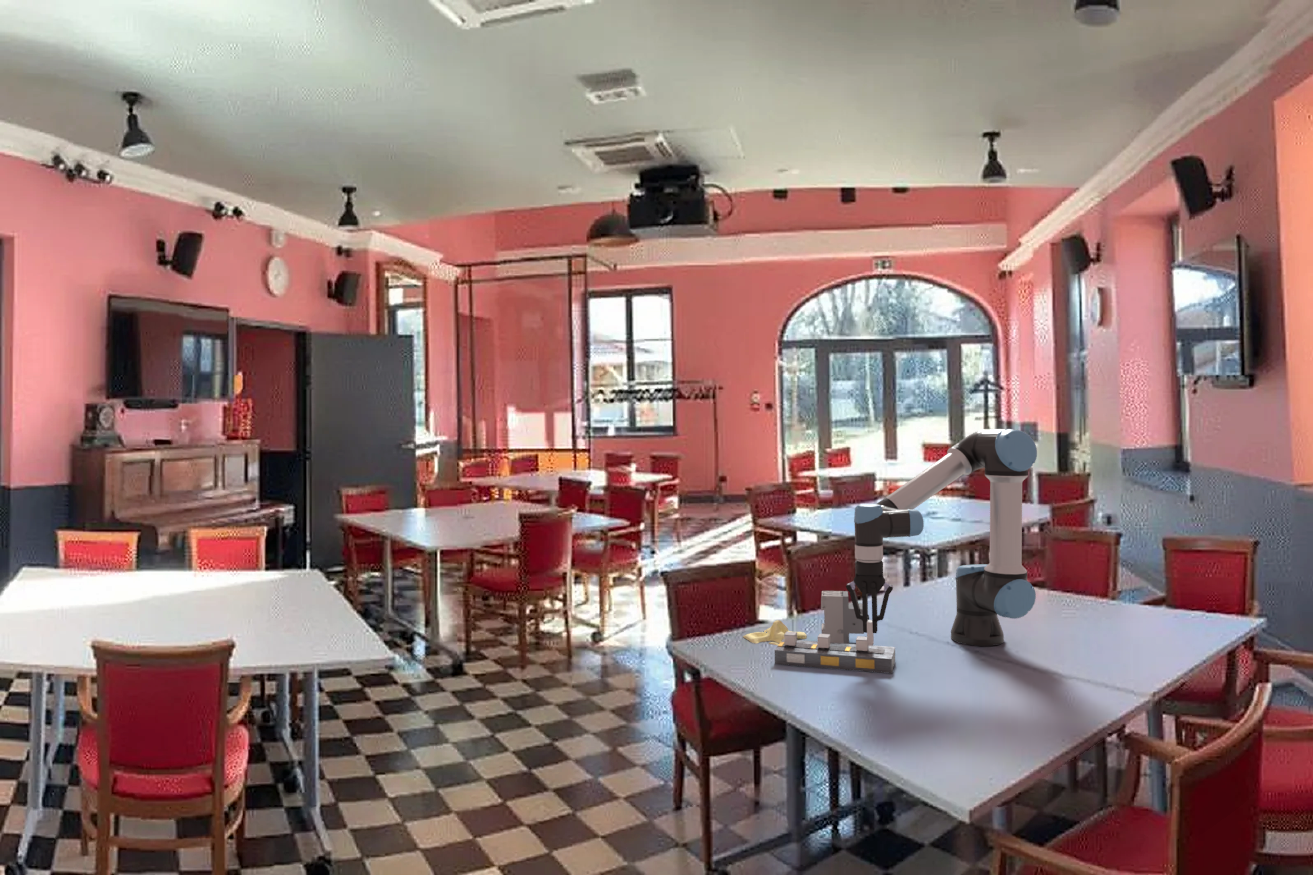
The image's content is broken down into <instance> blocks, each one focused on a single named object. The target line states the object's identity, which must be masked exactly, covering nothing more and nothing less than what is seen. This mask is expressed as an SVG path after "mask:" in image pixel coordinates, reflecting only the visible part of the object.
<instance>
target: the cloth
mask: <svg viewBox="0 0 1313 875" xmlns="http://www.w3.org/2000/svg"><path fill="white" fill-rule="evenodd" d="M763 631H764V632H763ZM763 631H755V632H751V633H746V634H745V635H743V636H742V638H744V639H746V640H748V641H749V642H750V643H752V644H759V643H763V642H768V645H774V646H778V645H779V643H780V642H781V641H782V640H783V639H784V634H785V633H786V632H787V631H788V632H793V631H792V630H789V629H788V626H787V625H786V624H785V623H783V622H782V621H781V620H780V619H779V620H777V619H776V620H775V621H773V622H772V625H771V626H770V627H768V628H766V629H765V630H763ZM766 632H767V633H766ZM796 632H797V640H799V639H801V640H805V639H807V636H808V635H807V634H806V632H804V631H796Z"/></svg>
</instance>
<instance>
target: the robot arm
mask: <svg viewBox="0 0 1313 875" xmlns="http://www.w3.org/2000/svg"><path fill="white" fill-rule="evenodd" d="M1037 457H1038V449H1037V445H1036V443H1035V440H1034V439H1033V438H1032V437H1031V435H1030V434H1028V433H1027V432H1025V431H1024V430H1019V429H1015V428H983V429H980V430H977V431H975V432H973V433H971V434H969V435H967V436H965V437H964V438H963V439H961V440H959V441H958V442H957V443H955V444H954V445H953V446H951V447H950V448H948V449H947V451H946V455H944V456H942V457H941V458H940V459H938V460H937V461H936V462H934V463H932V464H931V465H929V467H927V468H926V469H924V470H922V472H920V473H919V474H917V475H916V476H914V477H913V478H912V479H910V480H909V481H907V482H906V483H904V484H903V485H901V486H899V487H898V489H896V490H895V491H893V492H892V493H890V494H889V495H887V496H886V497H884V498H883V499H881V500H880V501H878V502H877V503H861V504H857V505H856V506H855V509H854V517H853V524H854V559H855V562H854V564H855V568H854V570H855V575H854V578H853V581H851V582H849V583H846V585H845V587H846V588H845V589H846V591H848V594H849V595H850V599H851V603H852V604H853V607H854V611H855V615H856V618H857V619H861V620H862V621H863V632H864V634H865V633H866V637H867V645H868V646H873V645H874V643H875V641H874V638H875V637H874V634H877V633H878V623H879V621H883V619H884V618H885V613H886V609H887V605H888V601H889V598H890V597H889V596H890V594H891V593H892V591H893V589H894V586H893V585H892V584H889V583H887V582H886V578H885V577H884V562H883V561H882V560H883V559H884V545H883V543H884V539H888V538H903V537H907V538H911V537H915V536H920V535H921V533H923V531H924V530H923V529H924V522H925V521H924V517H923V514H922V513H921V512H920V511H919V510H918V509H916V508H918V507H919V506H920V505H922V504H923V503H924V502H926V501H928V500H929V499H930V498H932V497H933V496H934V495H936V494H937V493H938V492H940V491H942V490H943V489H944V488H946V487H947V486H949V485H950V484H951V483H953V482H954V481H956V480H957V479H958V478H960V477H961V476H963V475H965V476H969V475H970V474H972V473H973V472H975V471H977V470H980V469H984V476H985V477H986V478H987V479H988V480H989V482H990V483H989V486H990V489H989V490H990V491H989V511H990V512H989V563H988V564H986V563H985V564H984V563H983V564H966V565H965V564H963V565H960V566H958V567H957V568H956V572H955V588H956V589H955V590H956V592H955V594H956V597H955V598H956V615H955V616H954V620H953V624H952V626H951V629H950V639H951V640H952V641H954V642H956V643H959V644H963V645H968V646H978V647H990V646H998V645H1001V644H1003V643H1004V641H1005V640H1004V639H1005V637H1004V635H1005V634H1004V632H1003V629H1002V625H1001V623H1000V620H999V617H998V616H1000V617H1002V618H1008V619H1014V620H1015V619H1016V620H1017V619H1021V618H1023V617H1025V616H1026V615H1027V614H1028V613H1029V612H1030V611H1031V610H1032V609H1033V607H1034V605H1035V603H1036V600H1037V599H1036V598H1037V595H1036V594H1037V593H1036V589H1035V587H1034V586H1033V585H1032V583H1031V582H1030V581H1028V570H1027V569H1026V567H1024V565H1022V563H1023V562H1022V560H1023V558H1022V553H1023V550H1022V547H1023V544H1022V543H1023V534H1022V533H1023V532H1022V531H1023V482H1024V480H1026V479H1027V478H1028V477H1029V469H1030V468H1032V467H1033V466H1034V465H1033V464H1035V463H1036V461H1037ZM856 587H857V589H858V590H859V591H860V592H861V598H862V601H861V602H862V603H861V604H862V613H863V614H861V611H860V608H859V604H860V603H859V601H858V597H857V593H856ZM882 588H883V591H884V594H883V599H882V602H881V607H880V611H879V614H878V593H879V592H880V590H882ZM869 594H870V596H871V619H869V620H868V615H869V605H868V604H869V600H868V598H869V597H868V596H869ZM858 603H859V604H858Z"/></svg>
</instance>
